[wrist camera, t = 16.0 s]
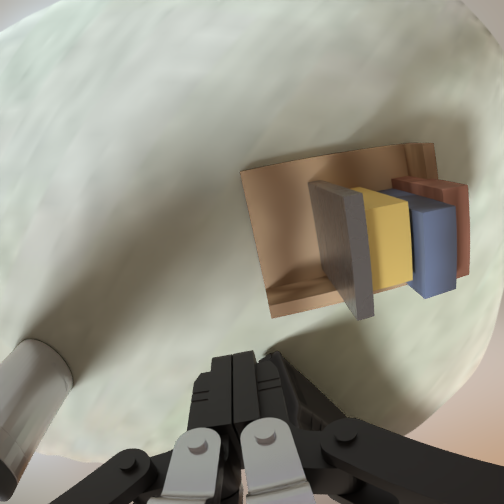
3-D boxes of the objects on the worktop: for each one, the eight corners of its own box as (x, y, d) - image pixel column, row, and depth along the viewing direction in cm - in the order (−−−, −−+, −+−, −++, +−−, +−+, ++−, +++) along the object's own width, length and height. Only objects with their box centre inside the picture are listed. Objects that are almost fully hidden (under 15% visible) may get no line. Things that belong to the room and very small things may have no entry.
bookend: (321, 268, 29) (357, 320, 20) (307, 182, 27) (343, 196, 17) (334, 266, 29) (374, 315, 20) (320, 179, 27) (362, 193, 17)
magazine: (237, 401, 25) (389, 546, 23) (269, 383, 24) (413, 535, 23) (262, 338, 42) (372, 470, 40) (282, 324, 41) (389, 460, 40)
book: (332, 253, 29) (367, 292, 20) (322, 193, 27) (359, 211, 19) (367, 245, 29) (412, 280, 20) (359, 186, 27) (407, 201, 19)
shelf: (267, 294, 32) (280, 364, 21) (239, 171, 28) (239, 180, 17) (421, 256, 31) (487, 300, 20) (410, 142, 28) (486, 143, 17)
